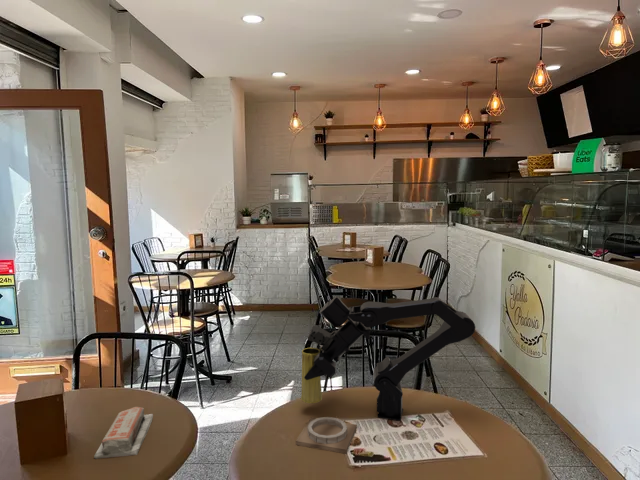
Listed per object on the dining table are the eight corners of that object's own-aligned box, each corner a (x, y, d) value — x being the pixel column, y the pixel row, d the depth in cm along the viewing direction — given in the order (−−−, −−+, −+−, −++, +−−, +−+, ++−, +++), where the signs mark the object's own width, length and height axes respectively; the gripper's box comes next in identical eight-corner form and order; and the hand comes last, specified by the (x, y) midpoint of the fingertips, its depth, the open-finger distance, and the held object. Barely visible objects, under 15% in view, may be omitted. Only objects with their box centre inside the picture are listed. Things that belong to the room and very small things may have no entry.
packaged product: (137, 437, 105) (92, 441, 104) (138, 456, 106) (94, 461, 104) (153, 402, 123) (115, 405, 121) (153, 418, 123) (116, 422, 122)
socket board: (356, 428, 117) (357, 419, 117) (346, 453, 106) (346, 443, 105) (310, 420, 121) (310, 412, 121) (295, 444, 110) (295, 435, 109)
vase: (319, 404, 122) (319, 355, 121) (298, 402, 123) (297, 353, 122) (324, 394, 128) (323, 347, 126) (303, 393, 129) (303, 346, 128)
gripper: (326, 308, 132) (290, 343, 134) (322, 327, 114) (280, 368, 116) (352, 334, 132) (316, 368, 134) (352, 357, 114) (311, 397, 116)
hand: (306, 374), depth 125 cm, fingers closed on vase, 5 cm apart
